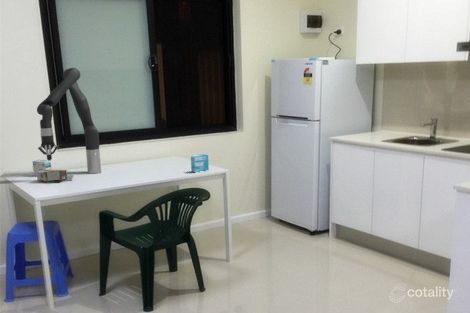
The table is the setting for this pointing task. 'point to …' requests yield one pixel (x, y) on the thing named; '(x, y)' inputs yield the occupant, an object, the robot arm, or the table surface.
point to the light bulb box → (41, 166)
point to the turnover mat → (69, 178)
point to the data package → (199, 163)
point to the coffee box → (52, 175)
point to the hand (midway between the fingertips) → (49, 160)
